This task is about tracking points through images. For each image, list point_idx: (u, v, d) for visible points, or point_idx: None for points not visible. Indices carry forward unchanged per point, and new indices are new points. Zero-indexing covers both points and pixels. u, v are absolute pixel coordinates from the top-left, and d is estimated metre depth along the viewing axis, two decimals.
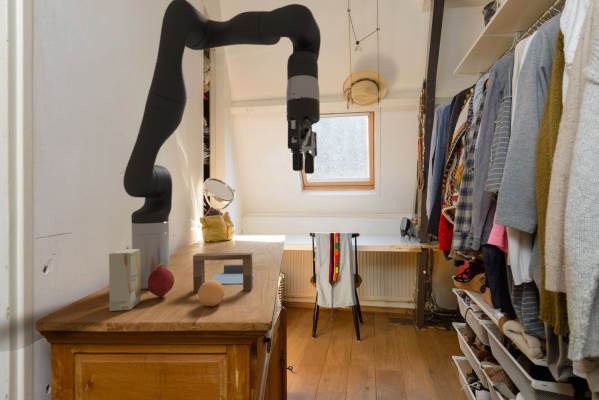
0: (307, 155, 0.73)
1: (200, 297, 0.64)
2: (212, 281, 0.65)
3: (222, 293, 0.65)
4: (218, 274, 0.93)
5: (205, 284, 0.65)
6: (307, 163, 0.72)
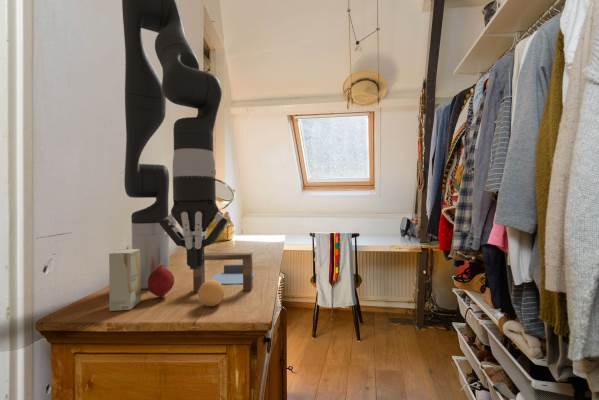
0: (193, 245, 0.56)
1: (200, 297, 0.64)
2: (212, 281, 0.65)
3: (222, 293, 0.65)
4: (218, 274, 0.93)
5: (205, 284, 0.65)
6: None
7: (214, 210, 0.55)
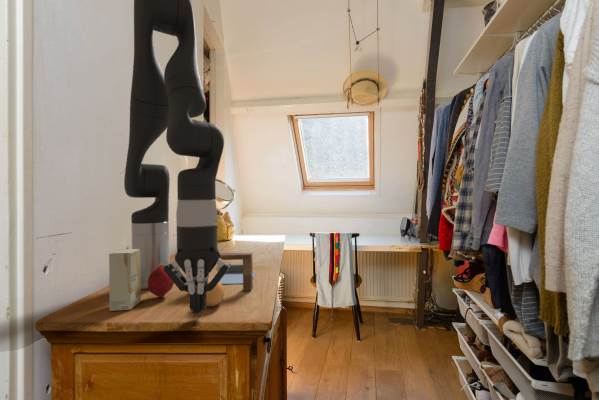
0: (196, 290, 0.58)
1: None
2: None
3: (222, 293, 0.65)
4: None
5: None
6: None
7: (216, 257, 0.58)
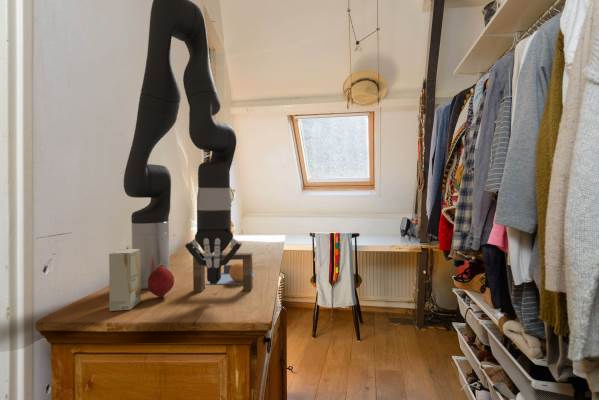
0: (212, 264, 0.69)
1: (231, 271, 0.83)
2: (241, 262, 0.86)
3: None
4: None
5: (236, 262, 0.85)
6: None
7: (230, 237, 0.68)
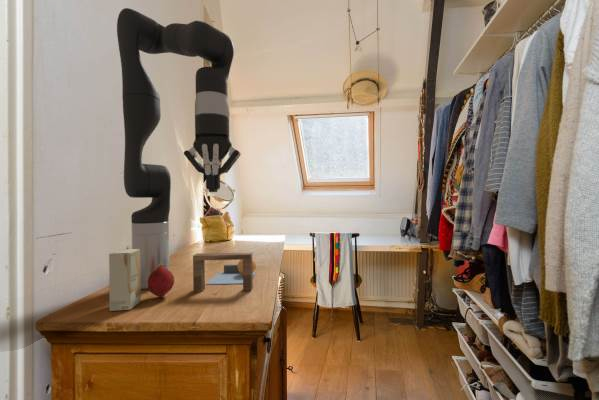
0: (211, 172, 0.68)
1: None
2: None
3: (255, 266, 0.92)
4: (218, 274, 0.93)
5: None
6: None
7: (228, 143, 0.68)
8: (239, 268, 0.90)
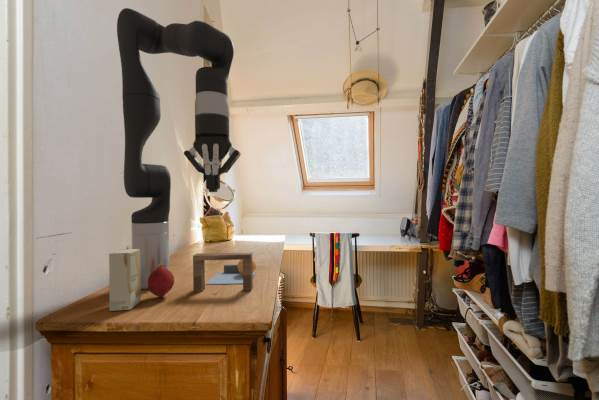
0: (211, 172, 0.68)
1: None
2: None
3: (255, 266, 0.92)
4: (218, 274, 0.93)
5: None
6: None
7: (228, 143, 0.68)
8: (239, 268, 0.90)
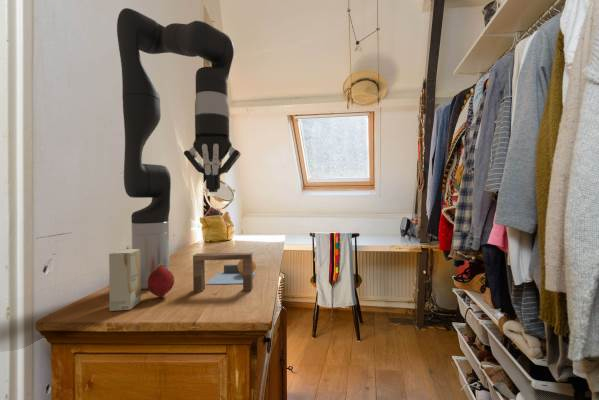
0: (211, 172, 0.68)
1: None
2: None
3: (255, 266, 0.92)
4: (218, 274, 0.93)
5: None
6: None
7: (228, 143, 0.68)
8: (239, 268, 0.90)
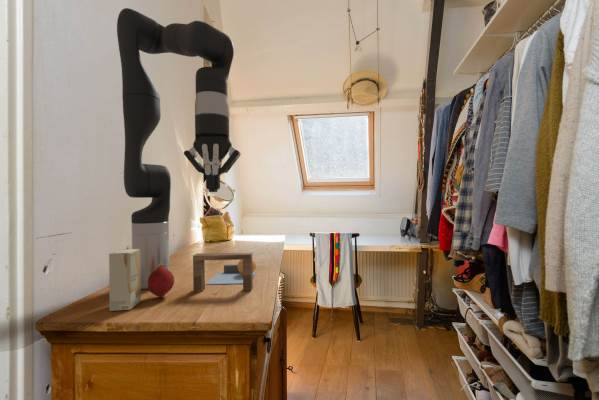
0: (211, 172, 0.68)
1: None
2: None
3: (255, 266, 0.92)
4: (218, 274, 0.93)
5: None
6: None
7: (228, 143, 0.68)
8: (239, 268, 0.90)
